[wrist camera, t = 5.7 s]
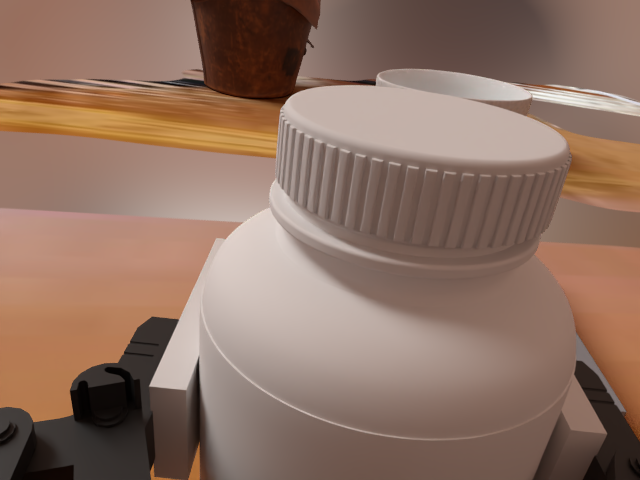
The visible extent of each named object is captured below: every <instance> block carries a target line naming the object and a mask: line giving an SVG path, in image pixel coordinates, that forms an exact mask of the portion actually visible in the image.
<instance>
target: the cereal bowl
mask: <svg viewBox="0 0 640 480" xmlns="http://www.w3.org/2000/svg"><path fill="white" fill-rule="evenodd" d="M376 86H379V87H391V88H401V89H410V90H417V91H424V92H431V93H437V94H443V95H448V96H453V97H458V98H463V99H468V100H472V101H477V102H481V103H485V104H488V105H492V106H496V107H499V108H503V109H506V110H509V111H512V112H515V113H518V114H521V115H524V116H527V114H528V110H529V108H530V105H531V101H532V94H531V93H530V92H528V91H526V90H525V89H523V88H520V87H518V86H515V85H512V84H509V83H505V82H502V81H498V80H494V79H489V78H484V77H480V76H474V75H468V74H462V73H454V72H448V71H438V70H424V69H395V70H388V71H383V72H381V73H379V74H378V75H377V79H376Z"/></svg>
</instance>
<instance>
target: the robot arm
mask: <svg viewBox="0 0 640 480" xmlns="http://www.w3.org/2000/svg"><path fill="white" fill-rule="evenodd" d="M225 240H226V239H220V238H216V240H215V242H214V245H213V247H212V249H211V251H210V253H209V256H208V258H207V260H206V262H205V264H204V267H203V269H202V271H201V273H200V275H199V278H198V280H197V282H196V284H195V286H194V289H193V291H192V293H191V295H190V297H189V300H188V302H187V304H186V306H185V308H184V311H183V313H182V315H181V317H180V319H179V320H178V319H169V318H159V317H151V318H150V319H148V320H147V321H146V322H145V323H143V324H142V325H141V326H139V327H138V328H137V330H136V332H135V334H134V335H133V337H132V339H131V341H130V344H128V346H127V348H126V350H125V351H124V355H122V357H121V359H120V360H119V362H118V363H104V364H101V365H97V366H94V367H91V368H89V369H87V370H86V371H84V372H82V373H81V374H80V375H79V376H78V377H77V378H76V379H75V380H74V381H73V383H72V386H71V389H70V394H71V400H72V407H73V414H74V415H72V416H69V417H64V418H60V419H54V420H47V421H40V422H33V420H32V418H31V416H30V414H29V413H27V412H26V411H24V410H22V409H20V408H12V407H5V408H0V480H151V476H150V471H151V468H152V465H153V463H154V475H155V477H161V478H171V479H181V480H188V478H189V475H190V472H191V468H192V465H193V461H194V458H195V455H196V451H197V448H198V445H199V441H200V375H199V317H200V300H201V292H202V288H203V284H204V282H205V279H206V277H207V273H208V270H209V268H210V265H211V263H212V261H213V259H214V257H215V255H216V253H217V251H218V250H219V248H220V247H221V245H222V244H223V242H224V241H225ZM614 403H615V402H614V400H613V399H612V397H611V395H610V394H609V393H607V389H606V387H605V386H604V384H603V382H602V381H601V379H600V378H599V376H598V375H597V374H596V373H595V372H594V371H593V370H592V369H591V368H589V367H588V366H587V365H586V364H585V363H584V362H583V361H577V360H576V367H575V372H574V376H573V379H572V383H571V386H570V389H569V392H568V394H567V397H566V400H565V402H564V405H563V407H562V410H561V412H560V414H559V417H558V419H557V422H556V424H555V427H554V429H553V432H552V434H551V436H550V439H549V441H548V444H547V446H546V449H545V451H544V453H543V456H542V458H541V461H540V463H539V466H538V468H537V470H536V473H535V475H534V478H533V480H640V442H639V440H638V439H637V437H636V436H635V434H634V432H633V431H632V429H631V428H630V426H629V424H628V423H627V421H626V419H625V418H624V416H623V415H622V413H621V411H620V410H619V408H618V407H617V405H615V404H614Z"/></svg>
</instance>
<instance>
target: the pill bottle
mask: <svg viewBox="0 0 640 480" xmlns="http://www.w3.org/2000/svg"><path fill="white" fill-rule="evenodd" d="M571 161H572V155H571V153H570V148H569V145H568V143H567V141H566V140H565V139H564V137H563V136H562V135H560V134H559V133H558V132H557V131H555V130H554V129H552V128H550V127H548V126H547V125H545V124H543V123H541V122H538V121H536V120H534V119H531V118H529V117H526V116H524V115H521V114H518V113H515V112H512V111H509V110H506V109H503V108H499V107H496V106H492V105H488V104H485V103H481V102H477V101H472V100H468V99H463V98H458V97H453V96H448V95H443V94H437V93H431V92H424V91H417V90H410V89H401V88H391V87H379V86H358V85H342V86H325V87H317V88H311V89H307V90H303V91H300V92H298V93H295V94H294V95H292V96H291V97H290V98H289V99H288V100H287V101H286V103H285V105H283V107H282V108H281V110H280V117H279V129H278V142H277V155H276V170H275V173H276V180H275V181H274V182H273V184H272V186H271V188H270V195H269V205H270V207H269V208H267V209H265V210H263V211H261V212H259V213H257V214H256V215H254V216H253V217H251V218H249V219H248V220H246V221H245V222H244V223H242V224H241V225H240V226H239V227H237V228H236V229H235V230H234V231H233V232H232V233H231V234H230V235H229V236H228V237H227V239H226V240H225V241H224V242H223V244H222V245H221V247H220V248H219V250H218V251H217V253H216V255H215V257H214V259H213V261H212V263H211V265H210V268H209V270H208V273H207V277H206V279H205V282H204V284H203V288H202V292H201V300H200V317H199V375H200V480H533V478H534V475H535V473H536V470H537V468H538V466H539V463H540V461H541V458H542V456H543V453H544V451H545V449H546V446H547V444H548V441H549V439H550V436H551V434H552V432H553V429H554V427H555V424H556V422H557V419H558V417H559V414H560V412H561V410H562V407H563V405H564V402H565V400H566V397H567V394H568V392H569V389H570V386H571V383H572V379H573V376H574V372H575V367H576V330H575V323H574V318H573V314H572V311H571V307H570V305H569V302H568V300H567V297H566V295H565V293H564V291H563V290H562V288H561V286H560V285H559V283H558V281H557V280H556V279H555V277H554V276H553V275H552V273H551V272H550V271H549V269H548V268H547V267H546V266H545V265H544V264H543V263H542V262H541V261H540V260H539V259H538V258H537V257H536V256H535V255H534V254H535V252H536V251H537V248H538V245H539V242H540V239H541V234H542V233H543V232H545V230H546V229H547V228H548V227H549V224H550V222H551V220H552V217H553V214H554V211H555V209H556V206H557V203H558V200H559V197H560V194H561V191H562V188H563V185H564V182H565V179H566V176H567V173H568V170H569V167H570V164H571Z"/></svg>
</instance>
